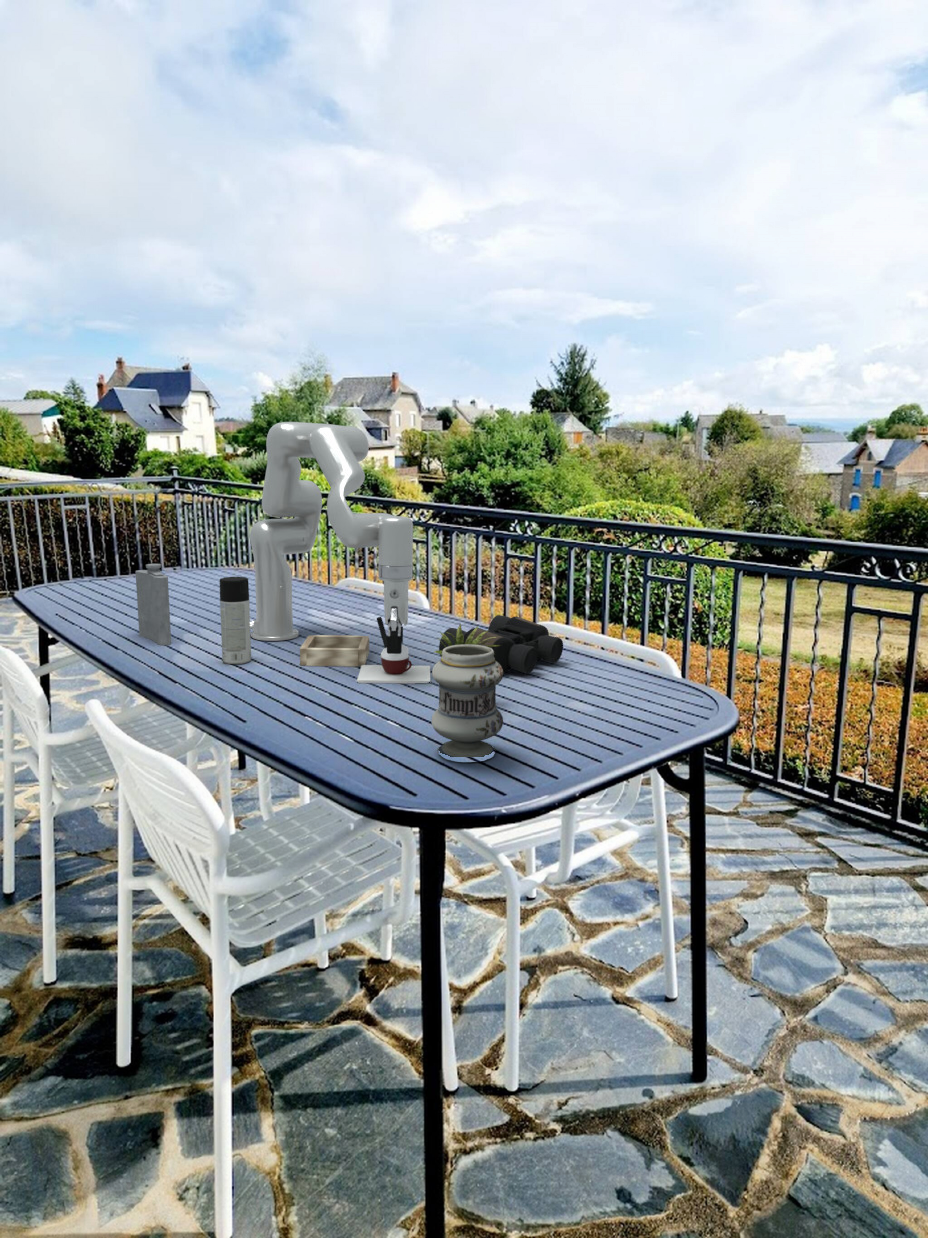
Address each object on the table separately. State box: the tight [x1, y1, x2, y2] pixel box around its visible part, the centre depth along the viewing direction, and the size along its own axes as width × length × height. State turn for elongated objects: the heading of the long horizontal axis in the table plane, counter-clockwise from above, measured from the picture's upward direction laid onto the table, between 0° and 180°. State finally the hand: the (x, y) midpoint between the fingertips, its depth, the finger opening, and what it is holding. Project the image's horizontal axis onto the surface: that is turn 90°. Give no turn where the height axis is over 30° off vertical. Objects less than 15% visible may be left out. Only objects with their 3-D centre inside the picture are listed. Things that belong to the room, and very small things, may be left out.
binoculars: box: [438, 614, 564, 675], centre depth 193 cm, size 29×20×10 cm
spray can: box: [219, 576, 252, 665], centre depth 188 cm, size 7×7×20 cm
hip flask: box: [135, 563, 172, 646], centre depth 208 cm, size 16×4×20 cm, turn 42°
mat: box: [356, 664, 431, 684], centre depth 181 cm, size 16×13×1 cm
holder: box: [299, 634, 370, 667], centre depth 195 cm, size 15×15×4 cm
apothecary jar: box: [430, 644, 504, 757], centre depth 133 cm, size 12×12×18 cm
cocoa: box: [376, 616, 413, 675], centre depth 180 cm, size 10×6×12 cm, turn 34°
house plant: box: [433, 623, 500, 656], centre depth 160 cm, size 14×14×16 cm
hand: (395, 648), depth 180 cm, fingers open, 9 cm apart
